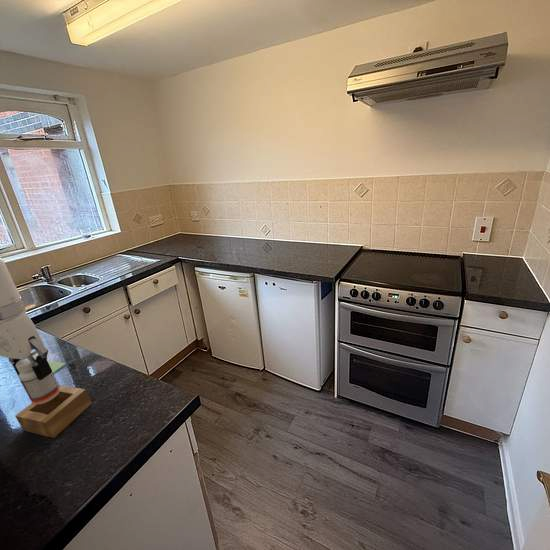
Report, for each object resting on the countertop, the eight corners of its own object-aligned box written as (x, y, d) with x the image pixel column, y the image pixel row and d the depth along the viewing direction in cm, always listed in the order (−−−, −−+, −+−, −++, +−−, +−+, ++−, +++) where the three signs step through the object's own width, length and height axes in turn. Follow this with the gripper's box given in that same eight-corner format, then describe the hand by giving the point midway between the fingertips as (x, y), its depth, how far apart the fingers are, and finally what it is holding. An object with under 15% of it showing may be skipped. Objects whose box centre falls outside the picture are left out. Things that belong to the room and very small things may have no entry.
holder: (23, 430, 76) (14, 415, 74) (63, 398, 85) (56, 384, 84) (53, 438, 72) (45, 422, 70) (91, 403, 82) (85, 389, 80)
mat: (21, 379, 97) (21, 378, 96) (48, 362, 105) (47, 360, 104) (40, 382, 94) (40, 381, 94) (66, 364, 102) (66, 363, 101)
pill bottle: (38, 392, 78) (19, 356, 74) (64, 384, 80) (47, 349, 76) (28, 408, 73) (7, 371, 69) (56, 400, 74) (37, 363, 70)
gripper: (-40, 316, 67) (-4, 380, 73) (11, 321, 61) (45, 390, 68) (-3, 301, 73) (27, 361, 80) (46, 304, 68) (74, 368, 74)
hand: (35, 374), depth 74 cm, fingers closed on pill bottle, 6 cm apart
